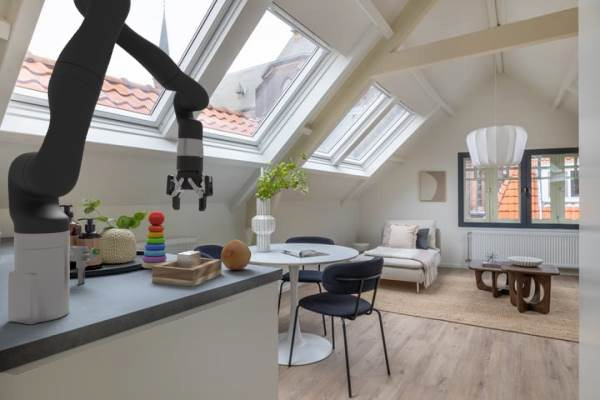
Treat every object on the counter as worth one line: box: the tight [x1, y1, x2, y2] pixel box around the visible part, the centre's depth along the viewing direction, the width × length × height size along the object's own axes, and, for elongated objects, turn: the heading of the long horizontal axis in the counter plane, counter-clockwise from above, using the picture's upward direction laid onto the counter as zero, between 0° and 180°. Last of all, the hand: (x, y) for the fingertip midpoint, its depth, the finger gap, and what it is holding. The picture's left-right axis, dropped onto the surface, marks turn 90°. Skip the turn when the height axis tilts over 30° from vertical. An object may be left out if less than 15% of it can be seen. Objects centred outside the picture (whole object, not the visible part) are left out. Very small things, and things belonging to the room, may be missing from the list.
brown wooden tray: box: [151, 257, 223, 287], centre depth 107 cm, size 16×13×4 cm
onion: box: [220, 239, 252, 271], centre depth 120 cm, size 10×10×10 cm
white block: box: [176, 250, 202, 269], centre depth 107 cm, size 6×4×6 cm, turn 163°
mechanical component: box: [70, 245, 101, 285], centre depth 98 cm, size 3×10×10 cm, turn 79°
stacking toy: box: [141, 210, 168, 269], centre depth 121 cm, size 8×8×19 cm
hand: (189, 210), depth 107 cm, fingers open, 8 cm apart
